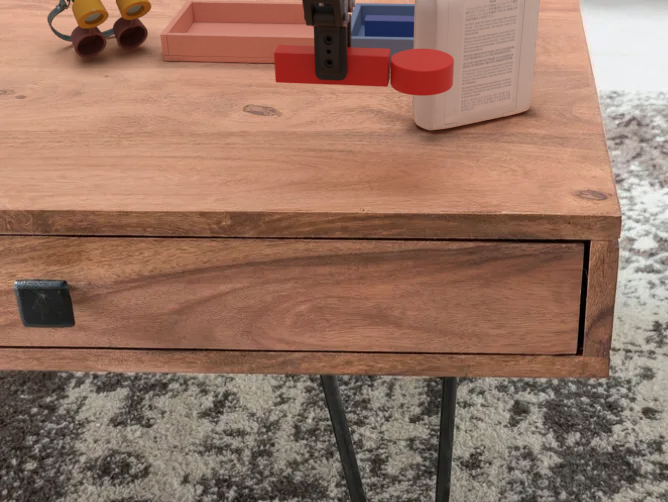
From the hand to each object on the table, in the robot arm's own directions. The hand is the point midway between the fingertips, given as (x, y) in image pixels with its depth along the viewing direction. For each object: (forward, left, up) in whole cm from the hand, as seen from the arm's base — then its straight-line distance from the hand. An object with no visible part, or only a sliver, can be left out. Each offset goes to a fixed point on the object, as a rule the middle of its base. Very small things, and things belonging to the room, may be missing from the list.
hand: (333, 71), depth 74 cm
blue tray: (+6, +27, -8) cm, 29 cm away
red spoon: (+2, 0, -1) cm, 2 cm away
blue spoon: (+6, +27, -7) cm, 29 cm away
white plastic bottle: (+10, +11, -8) cm, 17 cm away
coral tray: (-11, +27, -8) cm, 30 cm away
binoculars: (-25, +24, -8) cm, 36 cm away
